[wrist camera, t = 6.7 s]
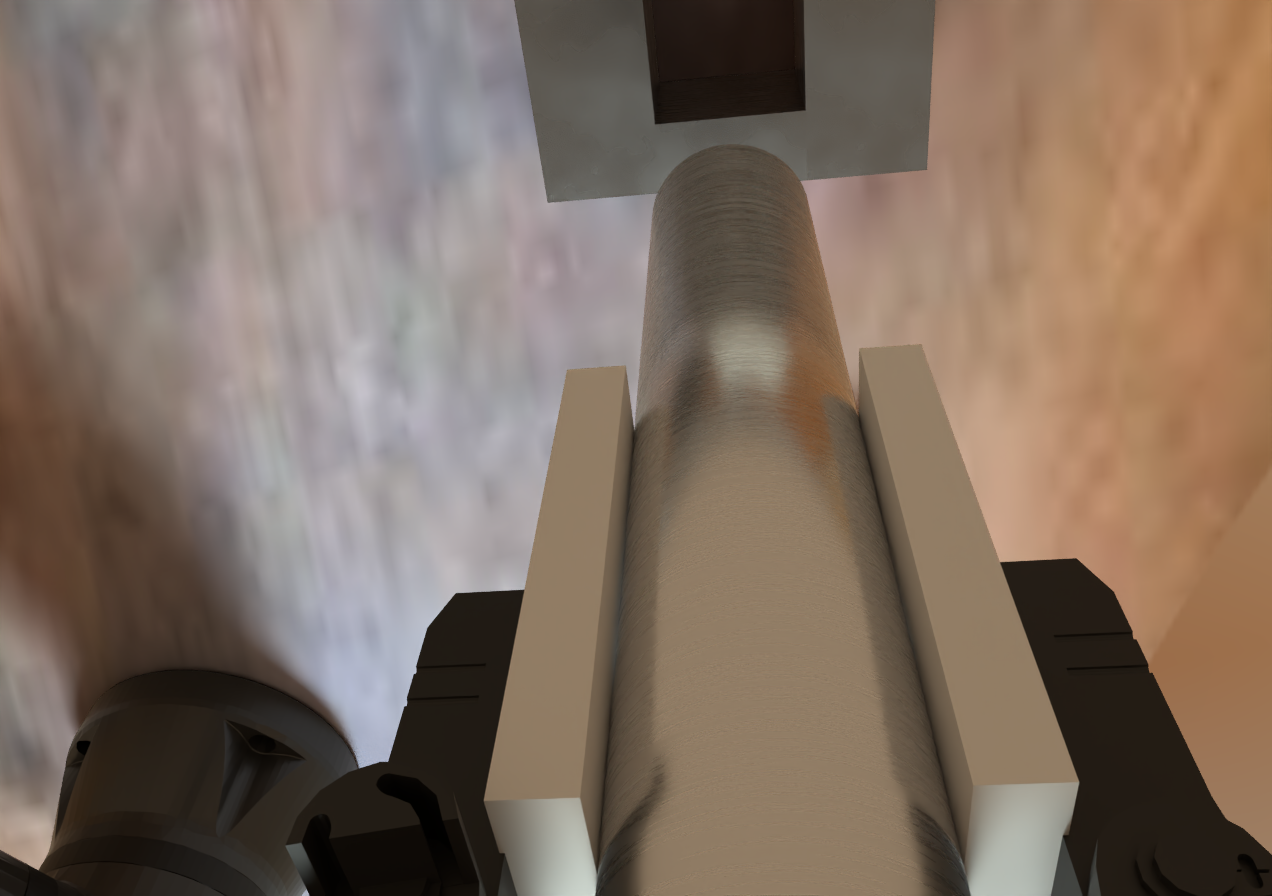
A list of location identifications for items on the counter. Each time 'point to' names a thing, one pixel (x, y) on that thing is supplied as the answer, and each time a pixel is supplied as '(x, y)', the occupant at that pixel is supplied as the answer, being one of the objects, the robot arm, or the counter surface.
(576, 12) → the block
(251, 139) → the counter surface
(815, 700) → the pin
